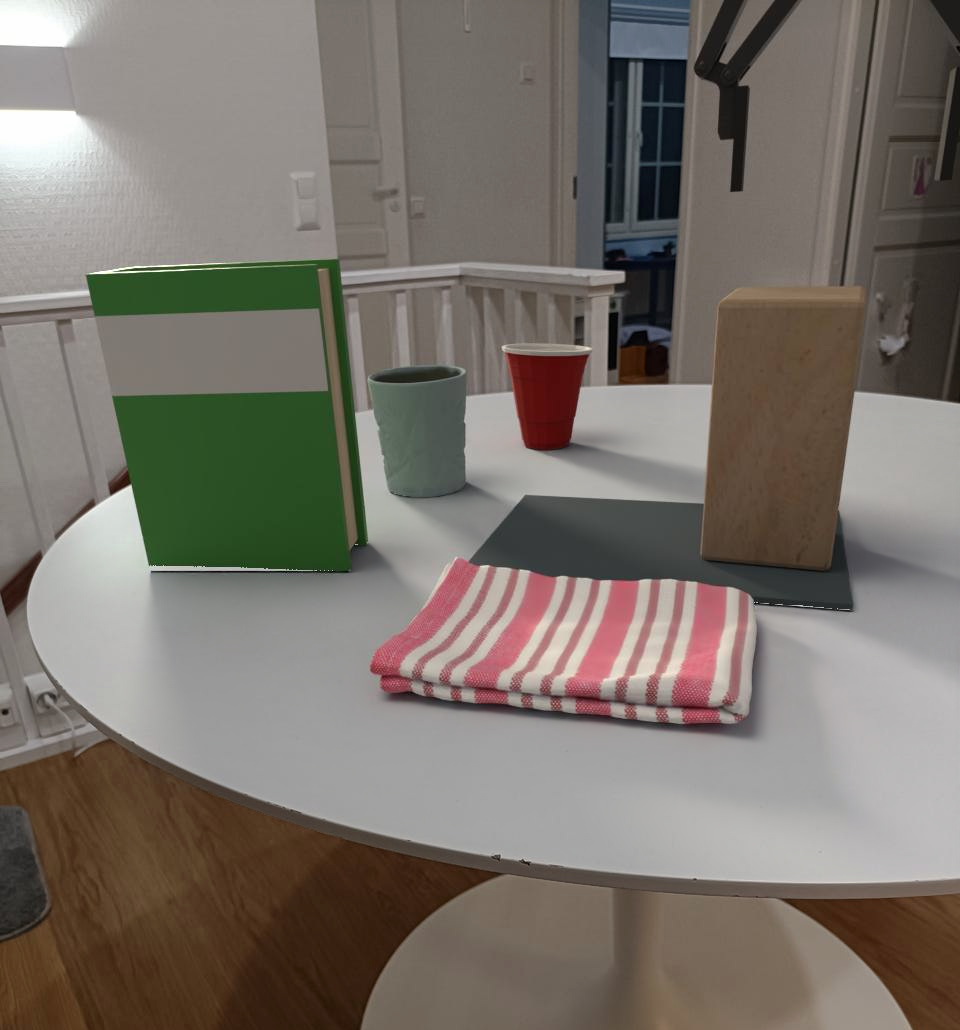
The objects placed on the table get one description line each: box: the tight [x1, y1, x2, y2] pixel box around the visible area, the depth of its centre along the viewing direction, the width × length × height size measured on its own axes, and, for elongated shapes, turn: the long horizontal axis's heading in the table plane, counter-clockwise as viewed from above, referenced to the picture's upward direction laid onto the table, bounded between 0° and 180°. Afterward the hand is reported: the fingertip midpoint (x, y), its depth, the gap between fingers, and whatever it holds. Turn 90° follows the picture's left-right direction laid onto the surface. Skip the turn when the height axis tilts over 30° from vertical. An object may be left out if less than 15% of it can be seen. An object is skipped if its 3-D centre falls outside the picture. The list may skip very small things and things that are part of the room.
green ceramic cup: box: [367, 364, 468, 498], centre depth 96 cm, size 10×10×12 cm
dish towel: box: [369, 556, 758, 725], centre depth 60 cm, size 17×23×4 cm
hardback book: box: [85, 257, 369, 572], centre depth 76 cm, size 18×7×24 cm, turn 84°
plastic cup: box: [501, 343, 594, 451], centre depth 111 cm, size 11×11×12 cm
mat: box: [467, 494, 854, 611], centre depth 79 cm, size 30×22×1 cm
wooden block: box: [700, 285, 868, 571], centre depth 72 cm, size 10×10×20 cm
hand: (836, 186), depth 64 cm, fingers open, 13 cm apart
